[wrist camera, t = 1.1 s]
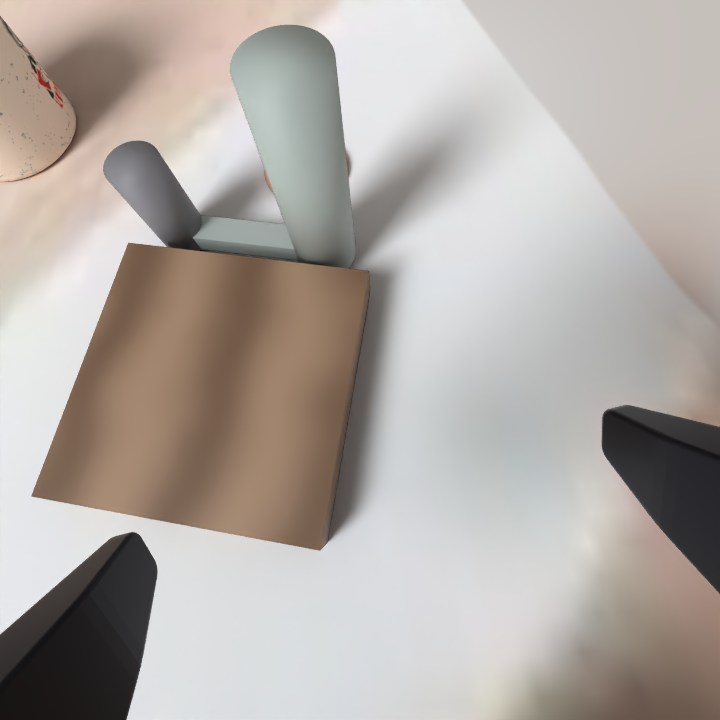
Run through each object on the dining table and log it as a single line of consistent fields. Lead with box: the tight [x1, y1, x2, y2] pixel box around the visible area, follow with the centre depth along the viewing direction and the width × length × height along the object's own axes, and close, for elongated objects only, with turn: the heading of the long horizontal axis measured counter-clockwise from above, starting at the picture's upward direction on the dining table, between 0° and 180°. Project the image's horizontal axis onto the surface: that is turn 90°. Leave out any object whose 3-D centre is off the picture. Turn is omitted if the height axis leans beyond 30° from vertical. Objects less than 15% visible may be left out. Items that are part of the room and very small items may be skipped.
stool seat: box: [32, 158, 370, 550], centre depth 23 cm, size 14×25×2 cm, turn 171°
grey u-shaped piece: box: [103, 25, 356, 269], centre depth 19 cm, size 12×4×12 cm, turn 81°
